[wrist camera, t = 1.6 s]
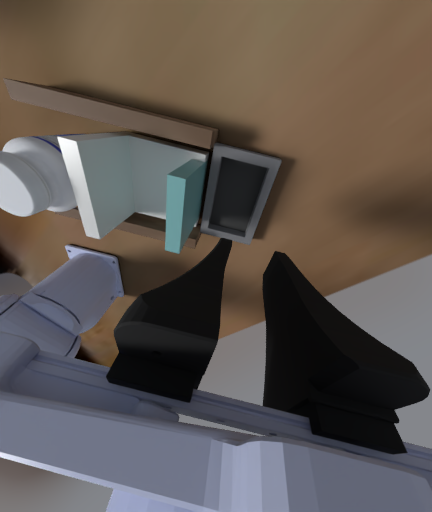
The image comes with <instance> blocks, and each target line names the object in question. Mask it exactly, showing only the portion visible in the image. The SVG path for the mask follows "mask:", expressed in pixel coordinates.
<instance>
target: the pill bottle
mask: <svg viewBox="0 0 432 512" xmlns="http://www.w3.org/2000/svg"><path fill="white" fill-rule="evenodd" d="M70 135H83V134H68V135H50V136H32V137H20V138H15V139H12V140H10V141H9V142H7V143H6V145H5V146H4V148H3V151H0V208H2V209H3V210H5V211H7V212H9V213H11V214H14V215H17V216H30V215H33V214H36V213H38V212H41V211H43V210H45V209H47V210H50V211H55V212H64V211H68V210H71V209H73V208H75V207H77V202H76V199H75V195H74V192H73V189H72V185H71V182H70V179H69V175H68V172H67V168H66V165H65V162H64V158H63V155H62V151H61V148H60V145H59V141H58V138H57V136H70Z"/></svg>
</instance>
